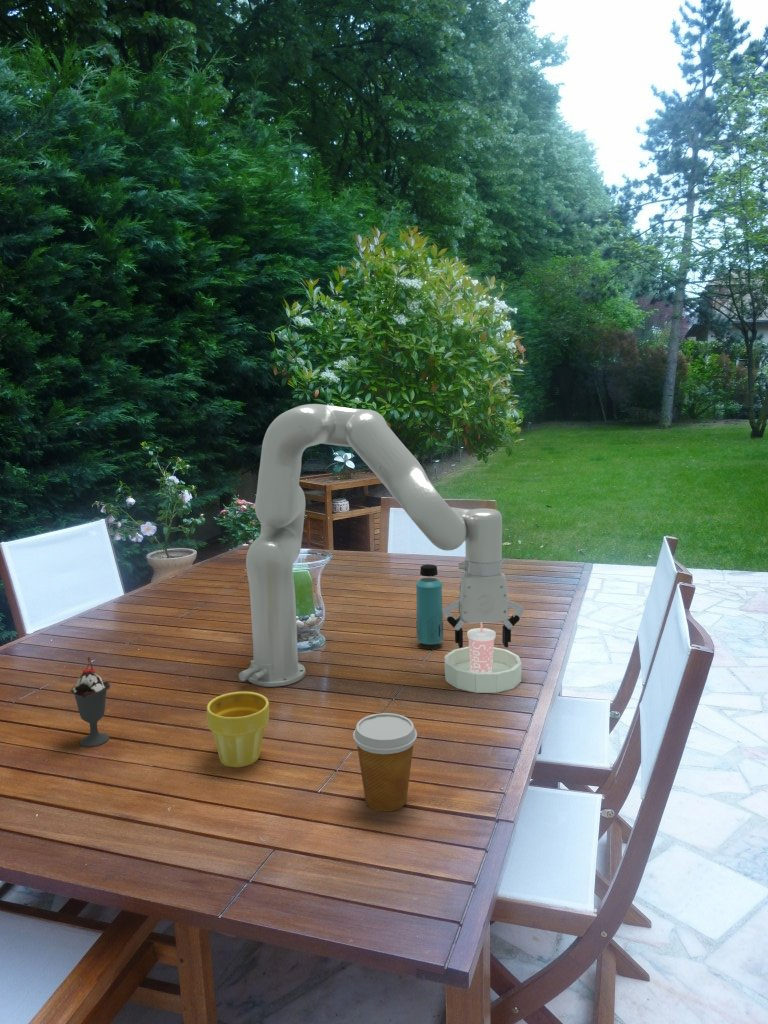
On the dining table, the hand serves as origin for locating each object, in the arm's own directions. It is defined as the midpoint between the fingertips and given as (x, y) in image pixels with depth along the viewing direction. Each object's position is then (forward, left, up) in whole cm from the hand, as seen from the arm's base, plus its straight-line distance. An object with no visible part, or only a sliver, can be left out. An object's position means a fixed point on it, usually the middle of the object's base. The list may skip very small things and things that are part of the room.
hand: (482, 645), depth 152 cm
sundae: (-61, +48, -7) cm, 78 cm away
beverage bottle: (+11, +19, -7) cm, 23 cm away
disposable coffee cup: (-50, -7, -7) cm, 51 cm away
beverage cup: (0, 0, -6) cm, 6 cm away
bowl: (0, 0, -7) cm, 7 cm away
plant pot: (-52, +21, -7) cm, 57 cm away
